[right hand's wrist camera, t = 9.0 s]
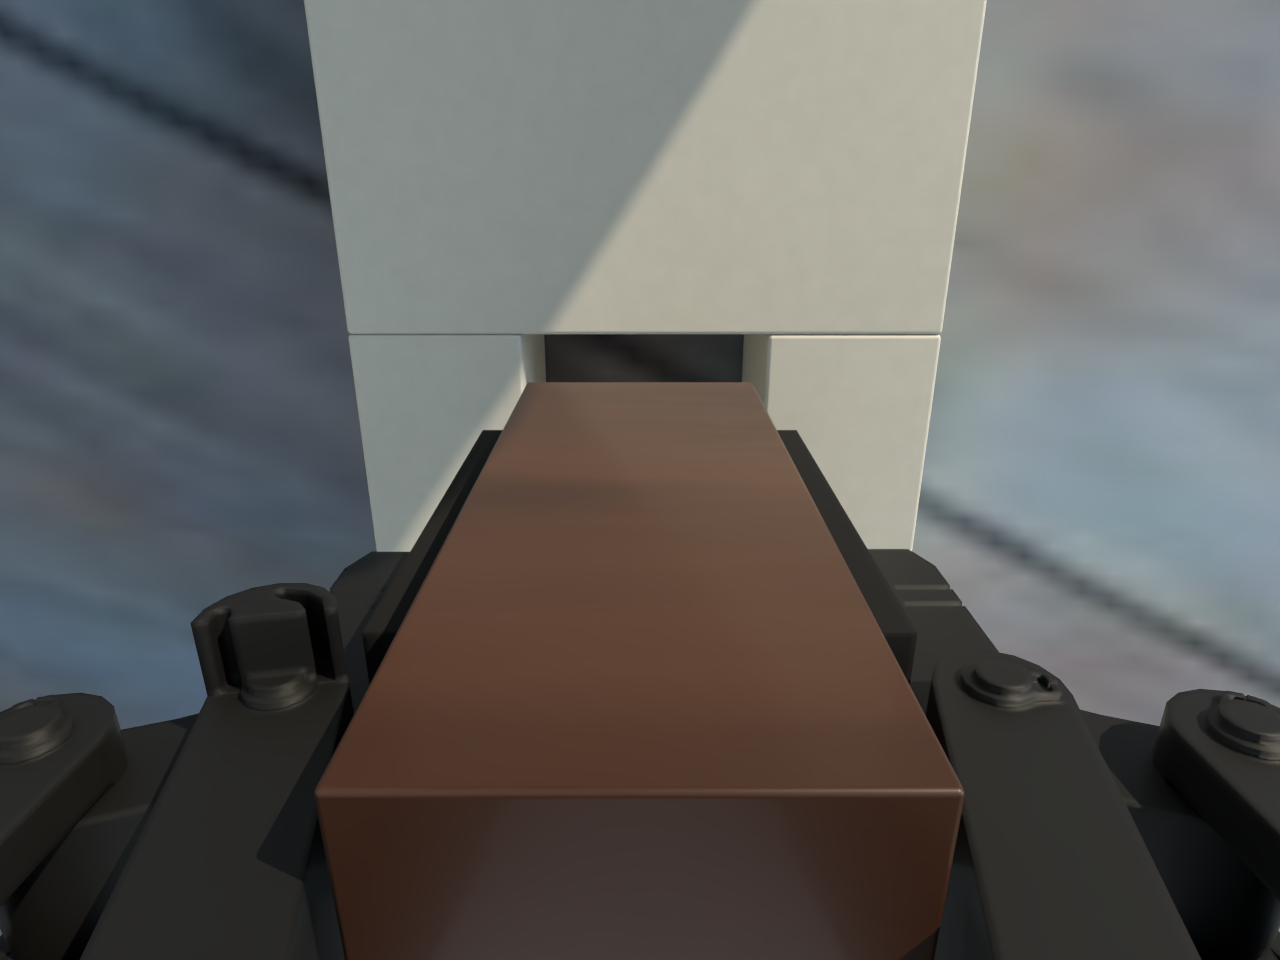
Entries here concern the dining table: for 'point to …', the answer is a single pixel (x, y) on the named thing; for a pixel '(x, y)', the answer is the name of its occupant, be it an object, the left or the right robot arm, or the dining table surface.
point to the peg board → (645, 214)
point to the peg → (639, 713)
